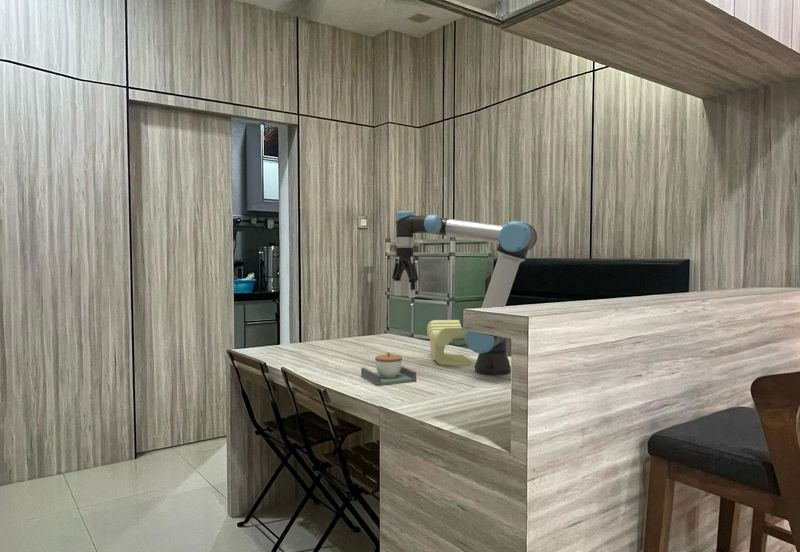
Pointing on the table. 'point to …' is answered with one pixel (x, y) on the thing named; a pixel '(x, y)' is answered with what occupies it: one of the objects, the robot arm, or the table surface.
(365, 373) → the tray
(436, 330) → the slatted curved stool
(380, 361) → the lidded jar
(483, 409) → the table surface
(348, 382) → the table surface
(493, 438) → the table surface
